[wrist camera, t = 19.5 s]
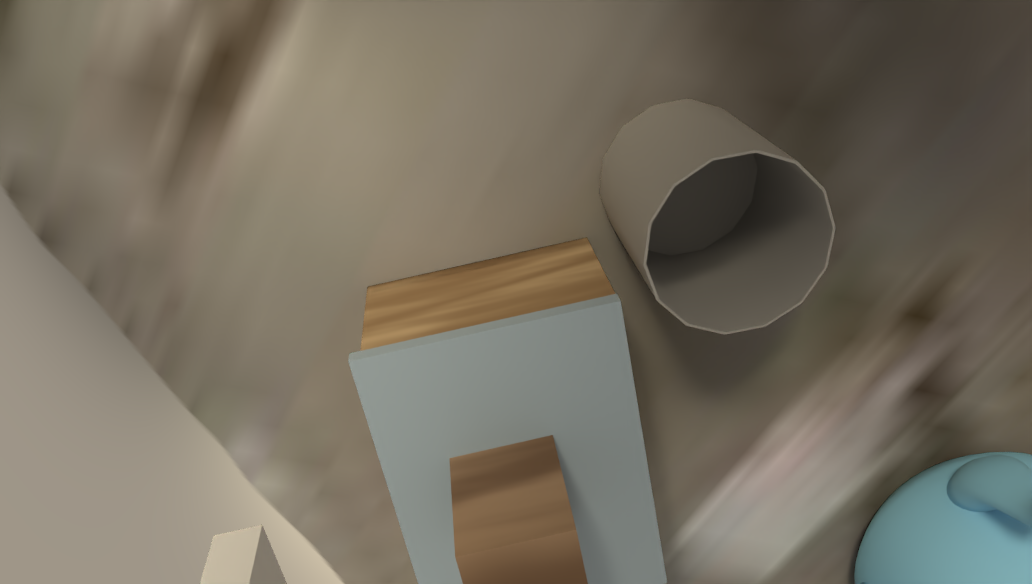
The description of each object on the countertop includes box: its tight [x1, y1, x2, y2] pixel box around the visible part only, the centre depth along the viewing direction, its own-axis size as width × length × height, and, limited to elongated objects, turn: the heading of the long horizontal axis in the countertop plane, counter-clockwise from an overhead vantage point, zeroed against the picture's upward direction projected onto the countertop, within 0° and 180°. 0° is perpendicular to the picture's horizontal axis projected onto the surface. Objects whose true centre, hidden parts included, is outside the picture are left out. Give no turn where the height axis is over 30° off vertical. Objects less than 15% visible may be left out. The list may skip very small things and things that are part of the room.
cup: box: [599, 99, 836, 335], centre depth 44 cm, size 8×8×10 cm
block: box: [449, 435, 588, 584], centre depth 41 cm, size 5×5×7 cm
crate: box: [361, 238, 615, 351], centre depth 48 cm, size 16×12×8 cm
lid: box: [348, 294, 667, 584], centre depth 44 cm, size 17×12×1 cm
